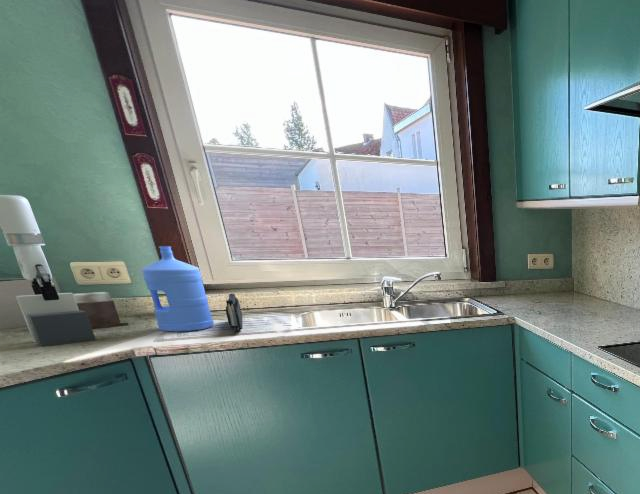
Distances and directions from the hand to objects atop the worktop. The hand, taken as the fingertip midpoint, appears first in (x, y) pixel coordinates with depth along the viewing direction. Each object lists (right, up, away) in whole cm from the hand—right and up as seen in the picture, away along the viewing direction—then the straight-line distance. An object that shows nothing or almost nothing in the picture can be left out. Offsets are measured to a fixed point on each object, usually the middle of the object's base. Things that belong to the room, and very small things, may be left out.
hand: (47, 298), depth 152 cm
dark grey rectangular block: (+5, -13, +1) cm, 14 cm away
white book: (-1, -12, +5) cm, 13 cm away
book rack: (-9, -4, +24) cm, 26 cm away
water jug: (+22, -5, +25) cm, 34 cm away
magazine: (+37, -3, +30) cm, 48 cm away
